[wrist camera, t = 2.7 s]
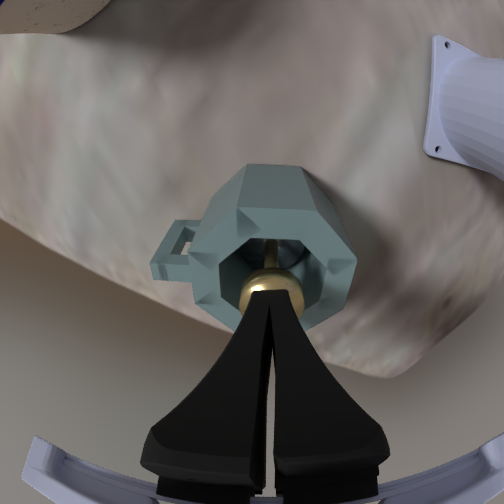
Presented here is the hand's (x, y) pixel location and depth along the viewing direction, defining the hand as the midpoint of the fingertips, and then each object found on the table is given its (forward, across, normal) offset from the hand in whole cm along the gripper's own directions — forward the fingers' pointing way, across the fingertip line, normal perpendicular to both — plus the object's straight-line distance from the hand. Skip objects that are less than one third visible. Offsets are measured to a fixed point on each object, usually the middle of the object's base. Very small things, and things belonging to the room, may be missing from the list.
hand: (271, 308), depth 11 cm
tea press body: (+8, +1, 0) cm, 8 cm away
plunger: (+5, 0, 0) cm, 5 cm away
